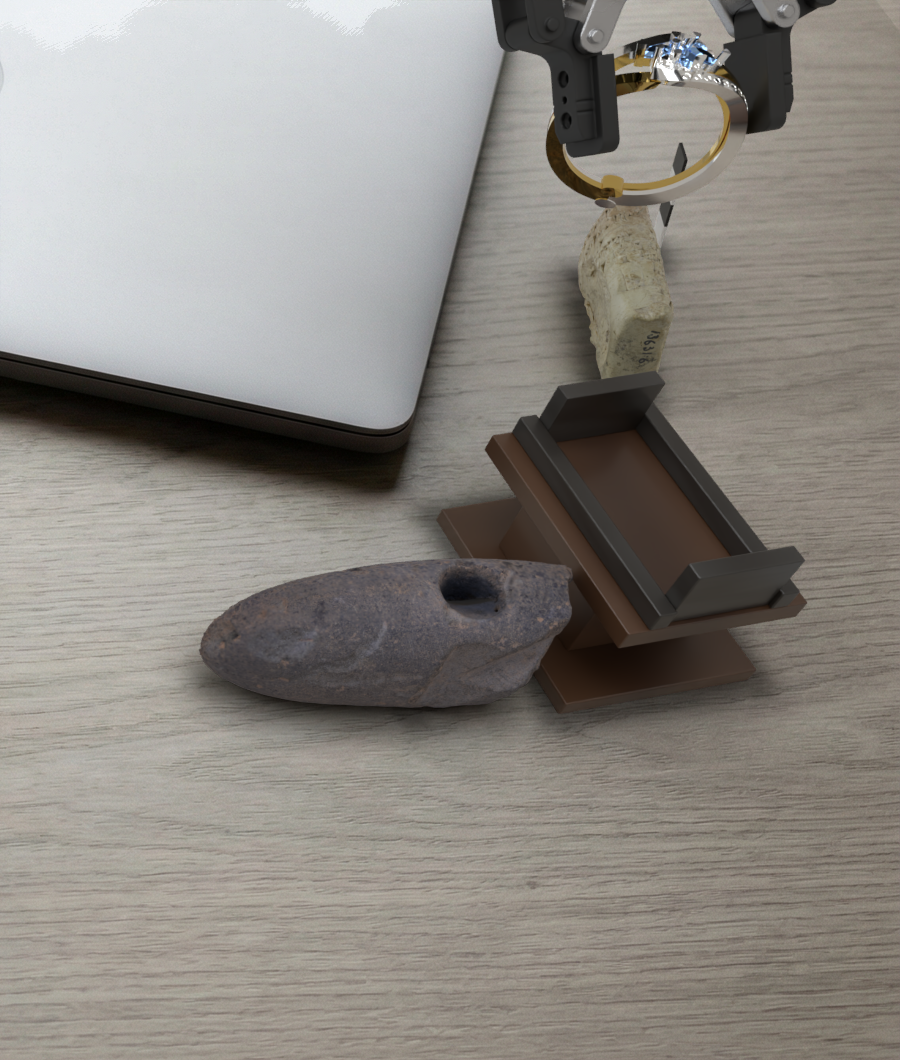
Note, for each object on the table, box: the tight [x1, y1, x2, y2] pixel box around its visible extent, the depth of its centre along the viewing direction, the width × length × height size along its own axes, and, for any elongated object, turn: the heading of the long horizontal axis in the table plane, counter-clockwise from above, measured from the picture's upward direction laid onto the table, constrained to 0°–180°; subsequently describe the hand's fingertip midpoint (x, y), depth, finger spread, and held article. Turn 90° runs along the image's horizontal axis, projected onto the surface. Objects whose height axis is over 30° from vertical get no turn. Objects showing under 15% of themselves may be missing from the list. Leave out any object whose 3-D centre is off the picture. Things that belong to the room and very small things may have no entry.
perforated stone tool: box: [198, 558, 573, 709], centre depth 71 cm, size 15×5×7 cm, turn 89°
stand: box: [435, 371, 808, 715], centre depth 73 cm, size 9×11×9 cm
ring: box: [545, 30, 748, 209], centre depth 68 cm, size 7×3×8 cm, turn 67°
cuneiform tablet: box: [577, 142, 689, 379], centre depth 85 cm, size 7×4×12 cm
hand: (676, 142), depth 67 cm, fingers closed on ring, 6 cm apart
